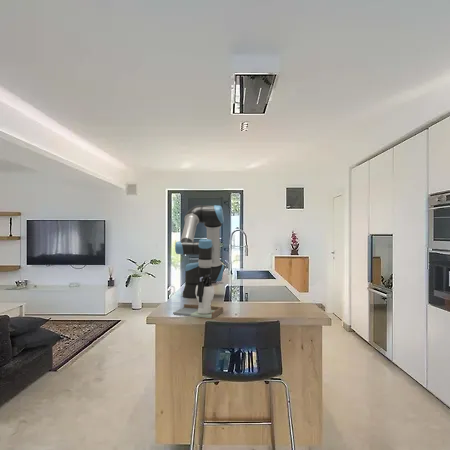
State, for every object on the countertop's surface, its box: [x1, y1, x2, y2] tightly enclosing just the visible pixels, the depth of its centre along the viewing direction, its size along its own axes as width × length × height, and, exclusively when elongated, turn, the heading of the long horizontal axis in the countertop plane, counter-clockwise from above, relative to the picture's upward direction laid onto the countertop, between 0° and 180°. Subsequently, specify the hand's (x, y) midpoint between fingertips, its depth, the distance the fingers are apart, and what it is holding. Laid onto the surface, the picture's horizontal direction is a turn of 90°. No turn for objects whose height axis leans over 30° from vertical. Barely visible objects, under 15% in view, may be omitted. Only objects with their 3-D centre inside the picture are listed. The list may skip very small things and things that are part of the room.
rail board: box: [172, 303, 224, 319], centre depth 244 cm, size 16×24×3 cm, turn 72°
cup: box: [195, 284, 215, 314], centre depth 240 cm, size 11×11×15 cm
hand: (204, 306), depth 240 cm, fingers open, 11 cm apart
